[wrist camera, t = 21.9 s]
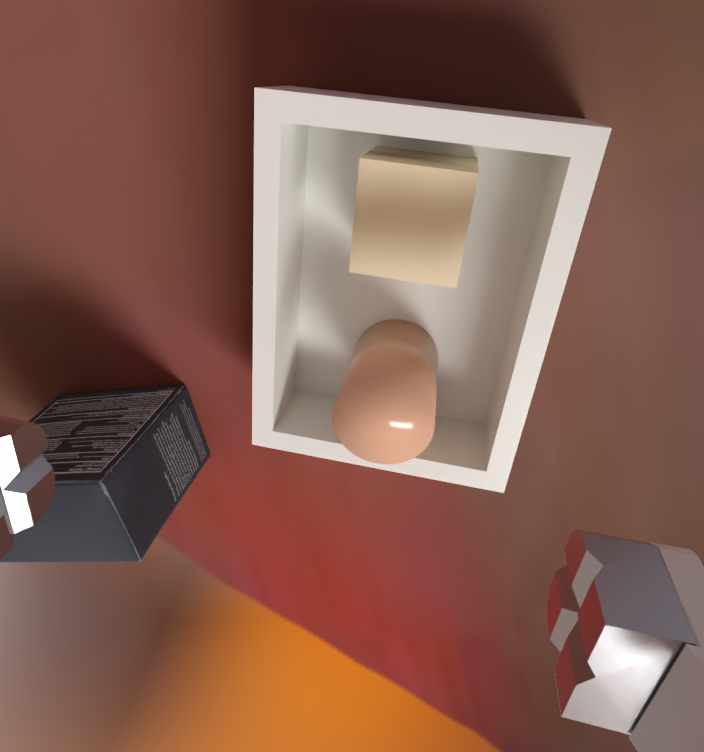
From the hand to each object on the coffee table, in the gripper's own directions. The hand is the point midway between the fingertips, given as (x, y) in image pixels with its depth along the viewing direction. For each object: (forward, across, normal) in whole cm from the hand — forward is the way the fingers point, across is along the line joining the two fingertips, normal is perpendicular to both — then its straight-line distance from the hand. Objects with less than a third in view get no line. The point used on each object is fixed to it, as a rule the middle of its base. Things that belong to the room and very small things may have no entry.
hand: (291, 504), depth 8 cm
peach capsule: (+23, 0, +9) cm, 25 cm away
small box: (+24, +18, +18) cm, 36 cm away
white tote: (+24, 0, +4) cm, 25 cm away
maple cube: (+23, 0, 0) cm, 23 cm away
